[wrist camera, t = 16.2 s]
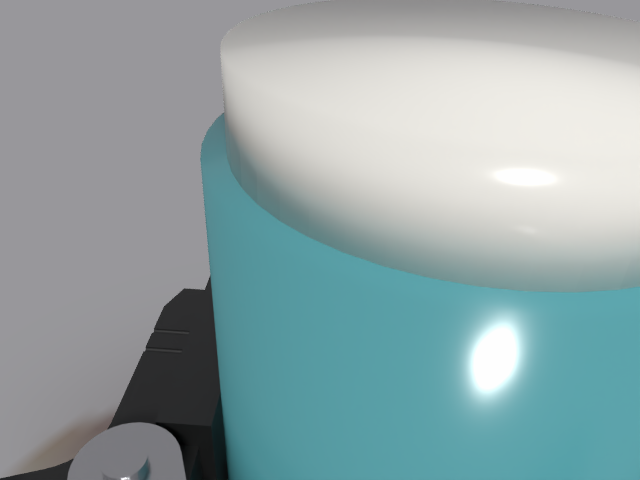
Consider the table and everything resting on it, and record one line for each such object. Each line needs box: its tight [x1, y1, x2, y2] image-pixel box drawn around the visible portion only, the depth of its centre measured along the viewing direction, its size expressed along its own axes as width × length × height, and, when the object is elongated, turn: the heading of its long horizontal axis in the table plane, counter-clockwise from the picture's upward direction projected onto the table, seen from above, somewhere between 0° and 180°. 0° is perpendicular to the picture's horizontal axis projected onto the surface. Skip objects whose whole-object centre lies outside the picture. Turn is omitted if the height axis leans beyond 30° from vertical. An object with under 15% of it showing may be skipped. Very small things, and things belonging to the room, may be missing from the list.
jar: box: [201, 0, 640, 480], centre depth 9 cm, size 6×6×13 cm
